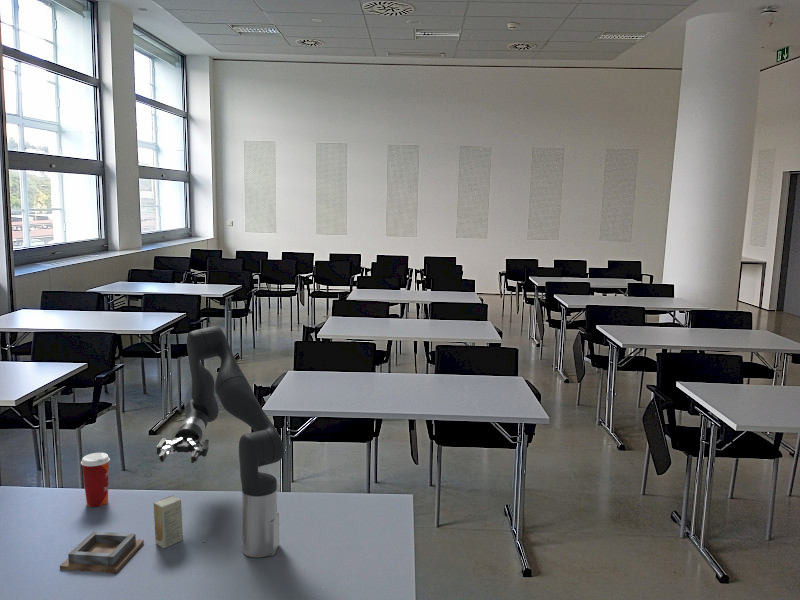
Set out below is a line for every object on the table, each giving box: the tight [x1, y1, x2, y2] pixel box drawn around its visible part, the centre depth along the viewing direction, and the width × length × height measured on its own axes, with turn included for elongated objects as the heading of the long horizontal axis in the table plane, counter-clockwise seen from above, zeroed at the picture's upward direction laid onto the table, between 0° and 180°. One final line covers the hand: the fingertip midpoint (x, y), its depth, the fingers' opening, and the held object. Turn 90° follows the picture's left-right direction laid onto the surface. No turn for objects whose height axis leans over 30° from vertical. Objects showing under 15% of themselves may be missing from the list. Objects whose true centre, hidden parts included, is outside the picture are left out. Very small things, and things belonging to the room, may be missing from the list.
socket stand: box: [59, 530, 145, 574], centre depth 176 cm, size 15×15×4 cm
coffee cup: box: [80, 452, 111, 508], centre depth 206 cm, size 8×8×15 cm
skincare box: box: [153, 495, 184, 549], centre depth 184 cm, size 6×4×12 cm
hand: (177, 459), depth 191 cm, fingers open, 8 cm apart
